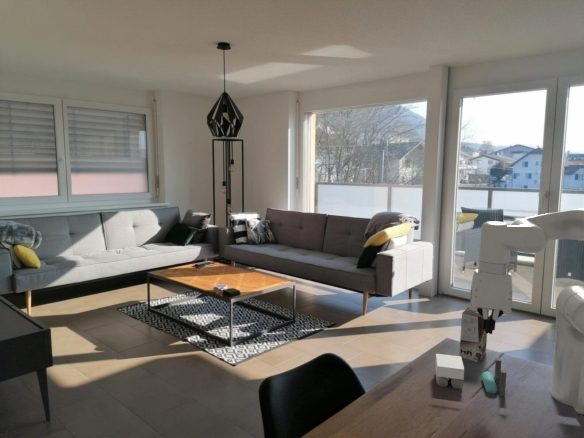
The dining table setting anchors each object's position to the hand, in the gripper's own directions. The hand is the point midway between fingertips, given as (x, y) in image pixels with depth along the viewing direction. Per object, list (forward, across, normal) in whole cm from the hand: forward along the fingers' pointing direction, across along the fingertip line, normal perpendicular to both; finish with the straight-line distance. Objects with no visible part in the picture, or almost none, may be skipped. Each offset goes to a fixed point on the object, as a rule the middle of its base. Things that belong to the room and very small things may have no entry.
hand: (488, 331), depth 119 cm
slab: (+13, +9, 0) cm, 16 cm away
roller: (+15, -1, 0) cm, 15 cm away
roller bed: (+17, +4, 0) cm, 18 cm away
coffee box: (+18, 0, -20) cm, 27 cm away
